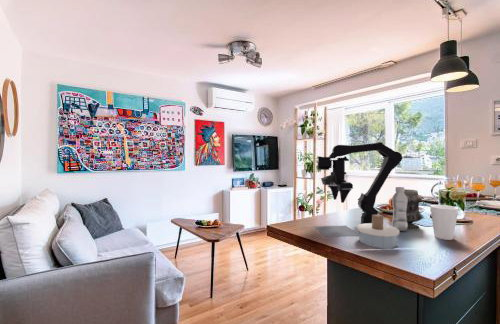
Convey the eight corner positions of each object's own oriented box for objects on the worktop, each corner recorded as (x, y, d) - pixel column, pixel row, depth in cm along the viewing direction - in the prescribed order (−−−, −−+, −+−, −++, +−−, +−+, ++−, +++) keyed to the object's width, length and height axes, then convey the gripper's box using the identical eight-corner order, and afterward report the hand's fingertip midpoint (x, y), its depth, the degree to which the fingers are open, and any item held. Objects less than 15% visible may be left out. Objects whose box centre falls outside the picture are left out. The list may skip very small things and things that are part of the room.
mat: (345, 226, 125) (345, 225, 125) (362, 237, 109) (362, 235, 109) (313, 227, 124) (313, 226, 124) (325, 238, 108) (325, 236, 108)
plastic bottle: (405, 229, 120) (406, 186, 120) (409, 233, 114) (409, 188, 114) (390, 228, 123) (390, 186, 122) (393, 231, 116) (393, 188, 116)
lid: (384, 225, 109) (384, 211, 109) (408, 236, 94) (408, 219, 94) (350, 226, 108) (350, 211, 108) (369, 237, 93) (369, 220, 93)
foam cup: (450, 242, 102) (450, 209, 102) (425, 236, 110) (425, 206, 110) (462, 238, 106) (462, 207, 106) (437, 233, 114) (437, 204, 114)
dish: (383, 237, 108) (383, 226, 108) (404, 248, 95) (404, 235, 95) (353, 238, 107) (353, 226, 107) (370, 249, 94) (370, 236, 94)
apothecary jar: (405, 222, 132) (405, 188, 132) (428, 228, 121) (428, 191, 121) (387, 224, 129) (387, 189, 128) (409, 231, 117) (409, 192, 117)
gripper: (316, 169, 137) (316, 198, 137) (330, 171, 118) (330, 204, 118) (337, 169, 137) (336, 198, 138) (353, 171, 119) (353, 204, 119)
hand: (338, 201), depth 128 cm, fingers open, 9 cm apart
